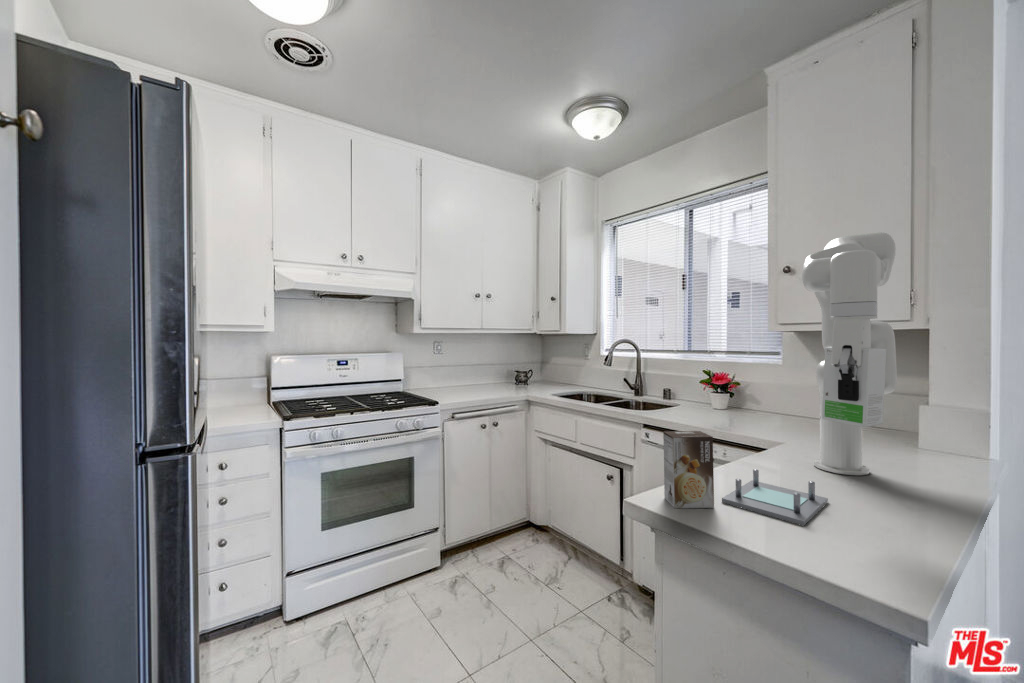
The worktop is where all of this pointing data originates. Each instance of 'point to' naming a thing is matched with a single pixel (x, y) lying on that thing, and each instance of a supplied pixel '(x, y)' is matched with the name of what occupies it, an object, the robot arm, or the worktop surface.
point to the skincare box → (870, 390)
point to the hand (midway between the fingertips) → (852, 397)
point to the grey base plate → (776, 502)
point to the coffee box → (688, 469)
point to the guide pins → (796, 495)
